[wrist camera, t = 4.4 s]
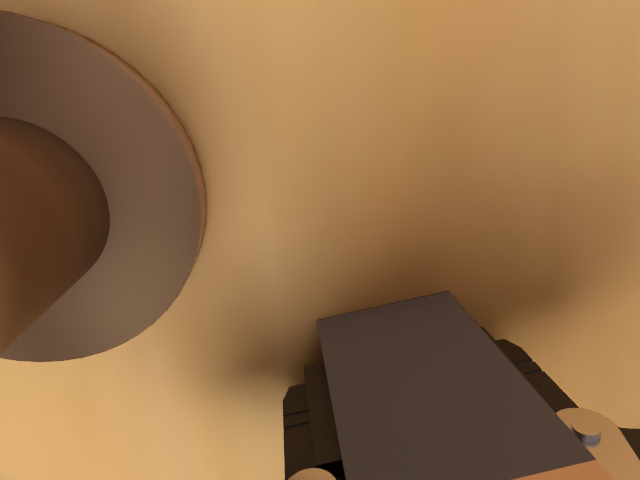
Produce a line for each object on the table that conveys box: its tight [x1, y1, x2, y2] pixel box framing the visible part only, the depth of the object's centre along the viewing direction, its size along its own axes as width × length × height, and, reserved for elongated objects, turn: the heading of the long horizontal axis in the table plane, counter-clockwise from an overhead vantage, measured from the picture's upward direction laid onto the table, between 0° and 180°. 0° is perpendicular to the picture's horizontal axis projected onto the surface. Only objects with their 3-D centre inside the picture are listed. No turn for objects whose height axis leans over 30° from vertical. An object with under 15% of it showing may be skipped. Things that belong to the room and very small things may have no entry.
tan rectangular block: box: [316, 291, 614, 480], centre depth 10 cm, size 4×4×7 cm
